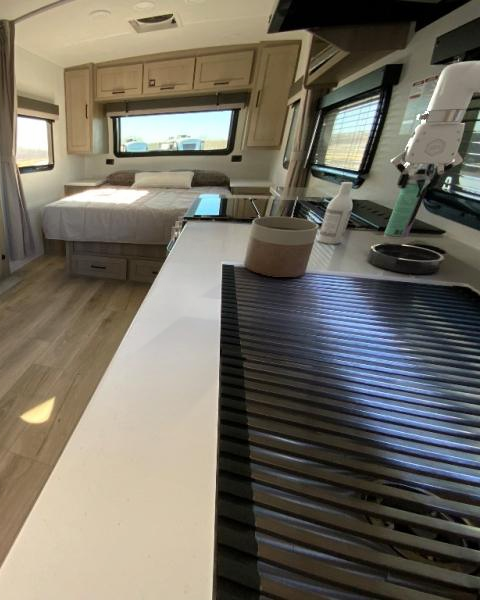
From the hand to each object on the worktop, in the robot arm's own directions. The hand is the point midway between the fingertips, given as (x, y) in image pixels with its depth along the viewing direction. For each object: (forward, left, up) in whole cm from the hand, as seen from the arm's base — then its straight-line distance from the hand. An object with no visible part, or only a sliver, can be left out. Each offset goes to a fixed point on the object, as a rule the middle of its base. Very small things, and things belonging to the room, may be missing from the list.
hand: (414, 187), depth 97 cm
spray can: (0, 0, -15) cm, 15 cm away
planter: (+33, +28, -20) cm, 48 cm away
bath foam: (+15, -7, -20) cm, 26 cm away
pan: (0, +12, -20) cm, 23 cm away
